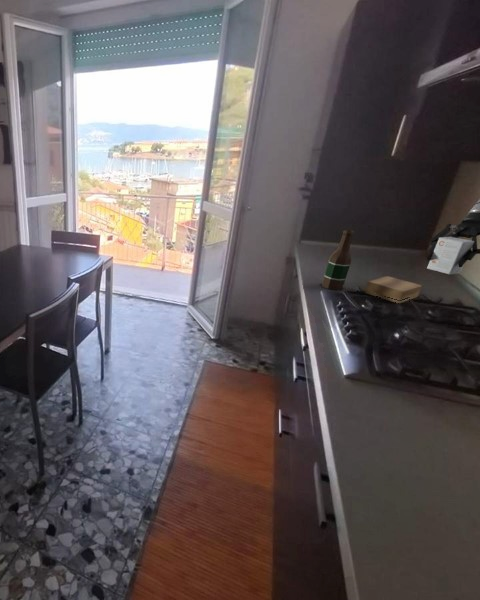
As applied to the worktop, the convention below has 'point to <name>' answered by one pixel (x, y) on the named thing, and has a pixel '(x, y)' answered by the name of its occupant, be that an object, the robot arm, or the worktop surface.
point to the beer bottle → (339, 264)
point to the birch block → (393, 289)
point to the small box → (449, 254)
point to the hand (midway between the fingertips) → (443, 261)
